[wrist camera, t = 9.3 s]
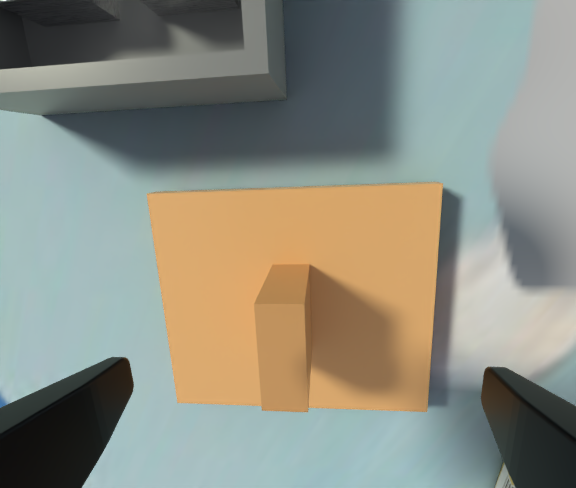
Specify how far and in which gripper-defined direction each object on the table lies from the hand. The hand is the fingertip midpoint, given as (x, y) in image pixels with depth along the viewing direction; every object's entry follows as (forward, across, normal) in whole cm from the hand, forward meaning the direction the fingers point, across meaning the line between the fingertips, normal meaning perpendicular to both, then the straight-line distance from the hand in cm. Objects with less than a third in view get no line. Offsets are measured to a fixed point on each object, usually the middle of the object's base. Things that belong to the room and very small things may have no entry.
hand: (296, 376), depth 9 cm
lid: (+12, +1, +3) cm, 12 cm away
